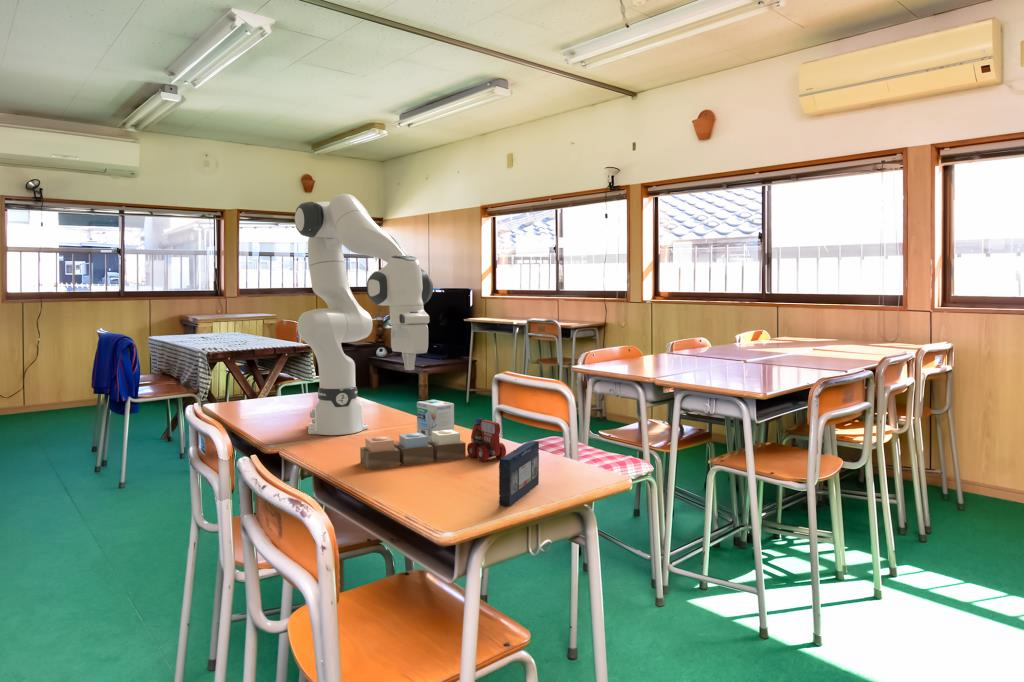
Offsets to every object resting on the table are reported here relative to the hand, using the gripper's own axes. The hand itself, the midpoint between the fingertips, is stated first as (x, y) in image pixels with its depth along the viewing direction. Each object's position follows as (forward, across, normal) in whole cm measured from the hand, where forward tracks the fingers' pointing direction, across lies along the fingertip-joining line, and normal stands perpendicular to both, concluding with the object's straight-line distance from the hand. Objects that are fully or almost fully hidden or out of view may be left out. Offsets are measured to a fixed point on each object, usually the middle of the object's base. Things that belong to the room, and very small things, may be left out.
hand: (409, 369), depth 179 cm
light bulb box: (+23, -22, +14) cm, 35 cm away
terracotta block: (+21, +2, -10) cm, 23 cm away
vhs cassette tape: (+26, +41, +10) cm, 50 cm away
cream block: (+21, +2, +8) cm, 23 cm away
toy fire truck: (+24, +8, +17) cm, 31 cm away
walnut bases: (+24, +2, -1) cm, 24 cm away
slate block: (+21, +2, -1) cm, 21 cm away
